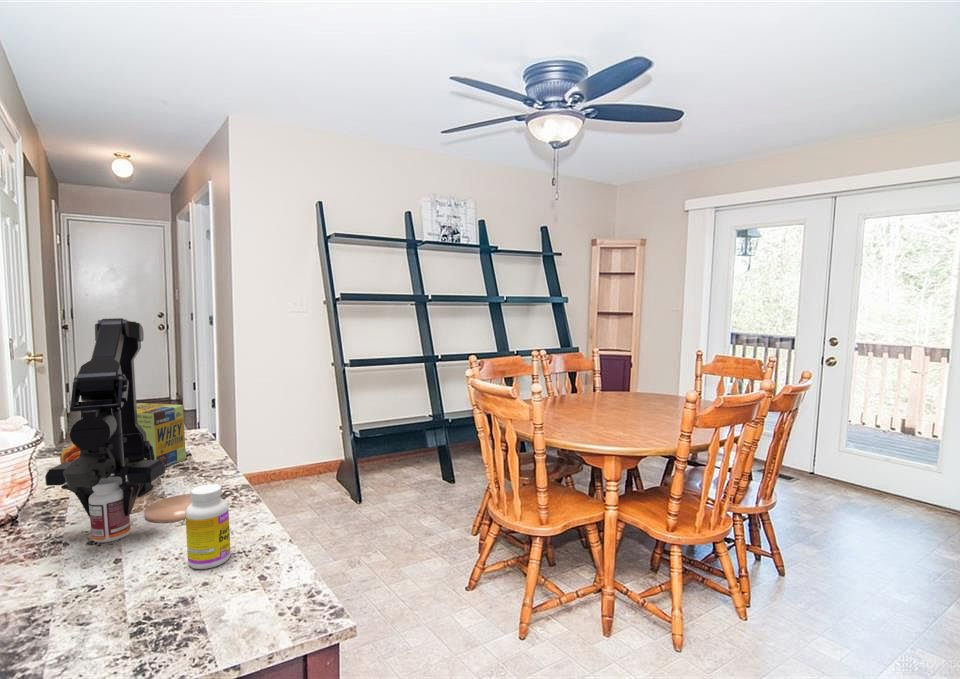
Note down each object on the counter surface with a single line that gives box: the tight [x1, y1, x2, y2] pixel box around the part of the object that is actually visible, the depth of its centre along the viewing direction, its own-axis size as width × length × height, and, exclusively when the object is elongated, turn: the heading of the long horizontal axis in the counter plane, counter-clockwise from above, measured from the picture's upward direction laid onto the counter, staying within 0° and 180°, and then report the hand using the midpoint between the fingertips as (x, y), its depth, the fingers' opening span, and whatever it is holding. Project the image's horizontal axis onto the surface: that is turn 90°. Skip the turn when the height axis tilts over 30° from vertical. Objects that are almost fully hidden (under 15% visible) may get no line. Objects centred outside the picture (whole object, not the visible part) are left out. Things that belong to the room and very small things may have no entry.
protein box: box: [136, 402, 187, 469], centre depth 146 cm, size 10×15×16 cm
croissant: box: [59, 443, 80, 464], centre depth 146 cm, size 21×10×8 cm, turn 35°
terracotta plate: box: [143, 493, 193, 524], centre depth 116 cm, size 13×13×1 cm
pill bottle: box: [89, 477, 131, 544], centre depth 103 cm, size 6×6×11 cm
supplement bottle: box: [185, 483, 232, 570], centre depth 93 cm, size 7×7×13 cm
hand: (110, 515), depth 103 cm, fingers closed on pill bottle, 6 cm apart
